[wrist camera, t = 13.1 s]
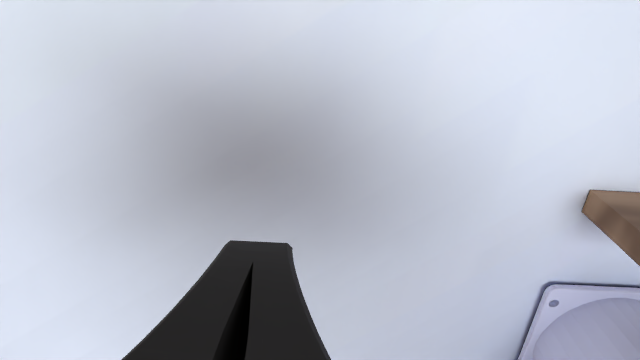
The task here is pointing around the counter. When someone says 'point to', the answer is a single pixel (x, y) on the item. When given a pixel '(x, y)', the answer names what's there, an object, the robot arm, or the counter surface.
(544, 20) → the counter surface
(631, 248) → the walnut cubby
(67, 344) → the counter surface
